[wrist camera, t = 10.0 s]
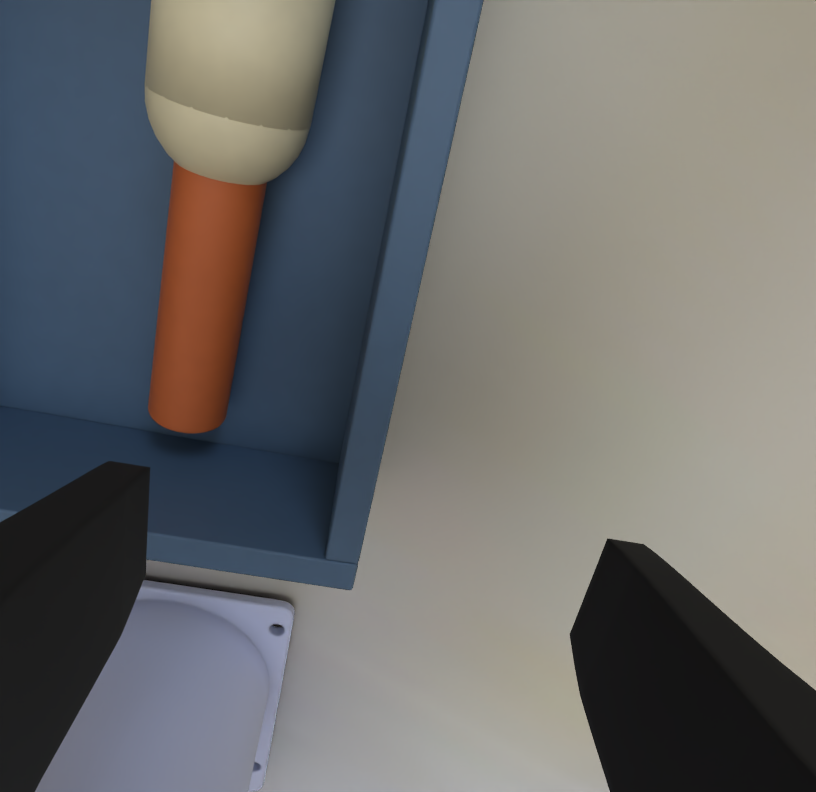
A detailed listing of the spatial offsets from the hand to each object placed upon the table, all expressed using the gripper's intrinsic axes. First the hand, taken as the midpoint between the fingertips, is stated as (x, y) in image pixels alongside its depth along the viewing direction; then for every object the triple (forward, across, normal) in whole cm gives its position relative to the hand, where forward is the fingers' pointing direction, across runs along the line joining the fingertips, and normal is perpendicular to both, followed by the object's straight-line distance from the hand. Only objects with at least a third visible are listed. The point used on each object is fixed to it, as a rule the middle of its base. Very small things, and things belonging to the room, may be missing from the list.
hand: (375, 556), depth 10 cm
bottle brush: (+7, +4, -4) cm, 9 cm away
